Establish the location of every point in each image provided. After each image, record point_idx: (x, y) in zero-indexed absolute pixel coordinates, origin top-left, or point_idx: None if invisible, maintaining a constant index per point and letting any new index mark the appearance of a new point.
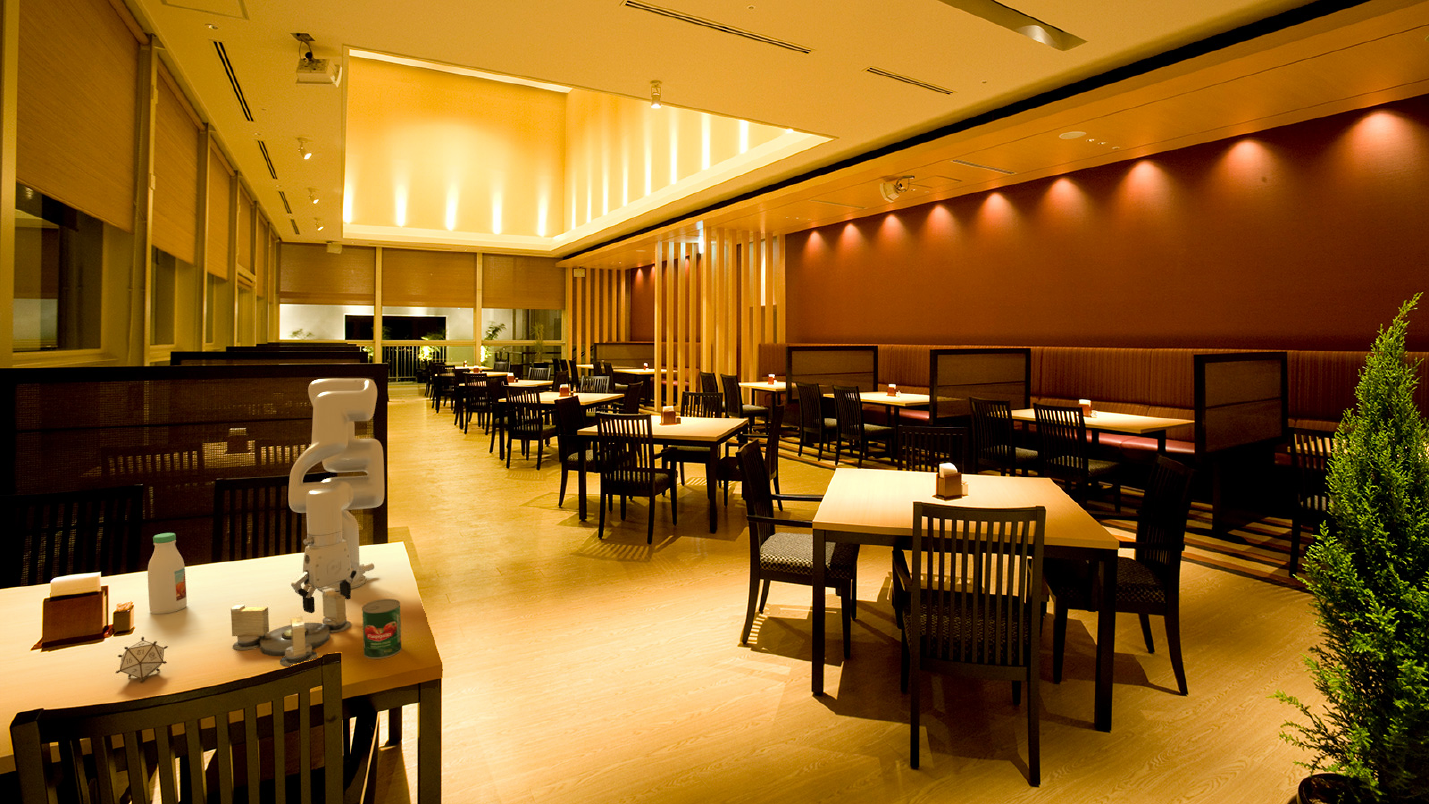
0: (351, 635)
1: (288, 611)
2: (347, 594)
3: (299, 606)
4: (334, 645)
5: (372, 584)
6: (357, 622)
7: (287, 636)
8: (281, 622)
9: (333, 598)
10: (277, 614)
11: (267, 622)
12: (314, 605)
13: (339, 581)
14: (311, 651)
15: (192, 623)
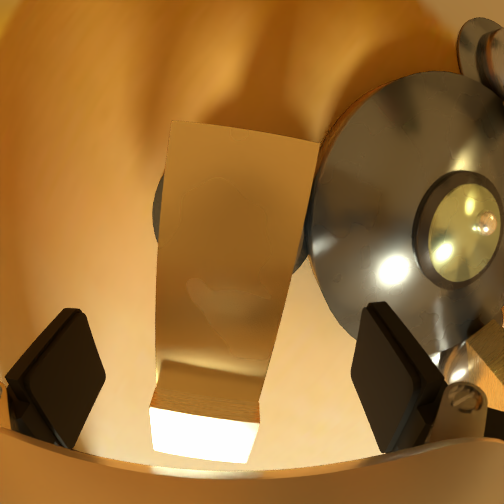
0: (260, 41)
1: (233, 466)
2: (67, 332)
3: (192, 468)
4: (379, 26)
5: None
6: (129, 176)
7: (502, 217)
8: (304, 428)
9: (303, 221)
10: (264, 468)
11: (493, 361)
12: (382, 333)
13: (70, 452)
14: (493, 31)
15: None
